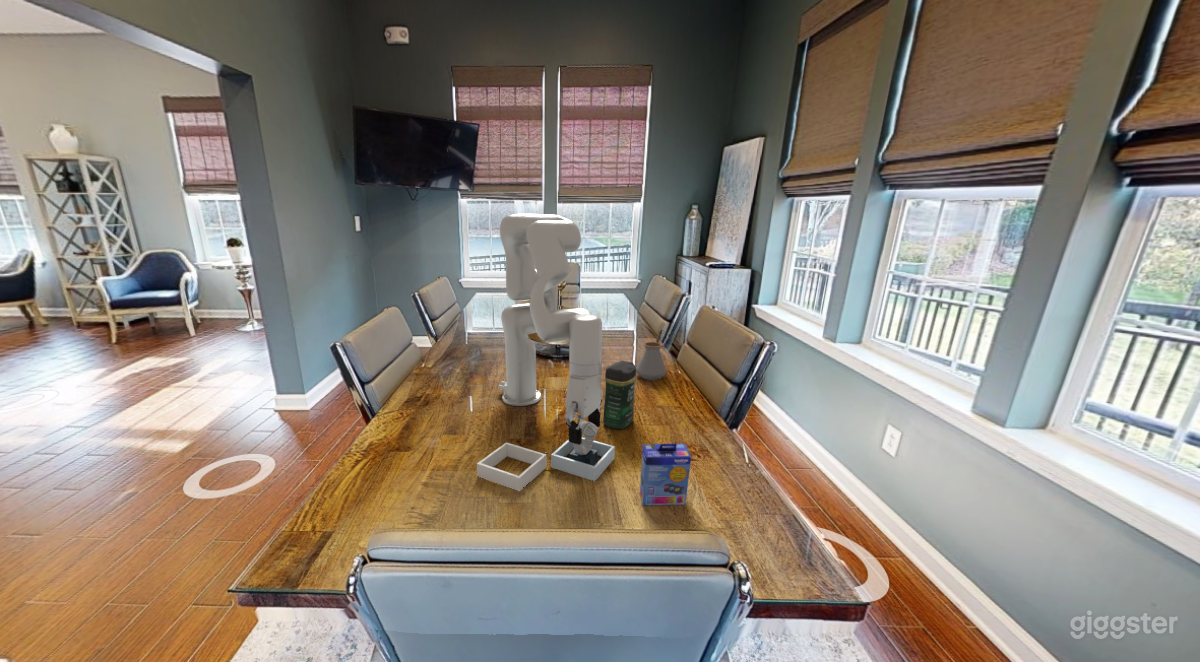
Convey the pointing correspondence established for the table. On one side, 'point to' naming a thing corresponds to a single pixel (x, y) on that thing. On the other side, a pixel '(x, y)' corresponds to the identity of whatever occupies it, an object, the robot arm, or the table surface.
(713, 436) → the table surface
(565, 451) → the tray far
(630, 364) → the coffee jar
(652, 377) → the coffee pot
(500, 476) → the tray near
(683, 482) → the ink cartridge box
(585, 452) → the watch
